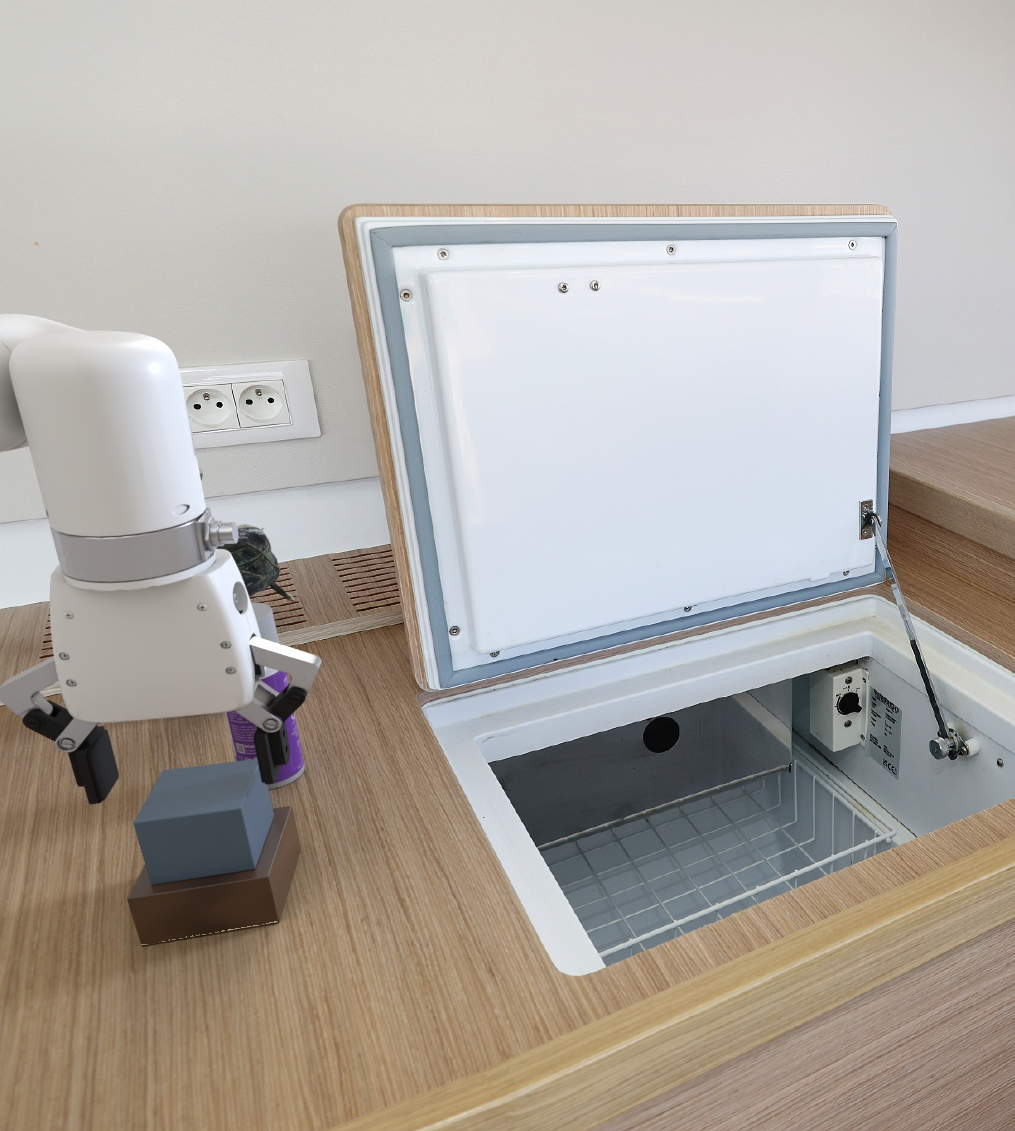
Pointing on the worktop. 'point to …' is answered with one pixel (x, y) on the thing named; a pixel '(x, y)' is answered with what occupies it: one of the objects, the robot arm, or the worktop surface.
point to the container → (245, 729)
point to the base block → (220, 892)
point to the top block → (204, 821)
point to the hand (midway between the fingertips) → (191, 781)
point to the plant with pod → (255, 560)
